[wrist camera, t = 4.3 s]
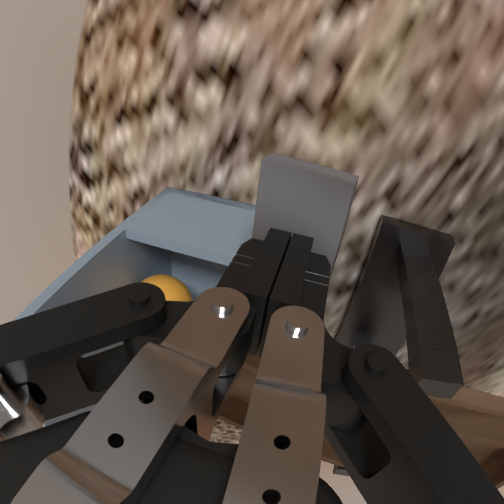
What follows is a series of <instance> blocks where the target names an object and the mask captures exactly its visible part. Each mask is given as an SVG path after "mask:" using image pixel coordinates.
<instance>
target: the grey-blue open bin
mask: <svg viewBox="0 0 504 504" xmlns="http://www.w3.org/2000/svg"><path fill="white" fill-rule="evenodd" d="M255 209H256V205H252V204H247V203H243V202H238V201H234V200H229V199H224V198H220V197H215V196H210V195H205V194H200V193H195V192H190V191H185V190H180V189H175V188H170V187H167V188H166V189H165V190H163V191H162V192H161V193H159V194H158V195H157V196H155V197H154V198H153V199H151V200H150V201H149V202H147V203H146V204H145V205H143V206H142V207H141V208H140V209H138V210H137V211H136V212H135V213H133V214H132V215H131V216H129V217H128V218H127V219H126V220H124V221H123V222H122V223H121V224H119V225H118V226H117V227H116V228H115V229H113V230H112V231H111V232H110V233H109V234H107V235H106V236H105V237H104V238H103V239H101V240H100V241H99V242H98V243H97V244H95V245H94V246H93V247H92V248H91V249H90V250H88V251H87V252H86V253H85V254H84V255H83V256H81V257H80V258H79V259H78V260H77V261H76V262H75V263H74V264H72V265H71V266H70V267H69V268H68V269H67V270H66V271H65V272H64V273H62V274H61V275H60V276H59V277H58V278H57V279H56V280H55V281H54V282H53V283H52V284H51V285H50V286H49V287H47V288H46V289H45V290H44V291H43V292H42V293H41V294H40V295H39V296H38V297H37V298H36V299H35V300H34V301H33V302H32V303H31V304H30V305H29V306H28V307H27V308H26V309H25V310H24V311H23V312H22V313H21V314H20V315H19V316H18V317H17V318H16V319H15V320H18V319H21V318H24V317H27V316H30V315H33V314H36V313H40V312H43V311H46V310H49V309H52V308H55V307H58V306H62V305H65V304H68V303H71V302H74V301H77V300H81V299H84V298H87V297H90V296H93V295H97V294H100V293H103V292H106V291H109V290H112V289H116V288H119V287H122V286H125V285H128V284H132V283H137V282H141V281H143V280H144V279H146V278H148V277H150V276H153V275H158V274H164V275H170V276H173V277H175V278H177V279H179V280H180V281H181V282H183V283H184V284H185V285H186V286H187V288H188V289H189V291H190V293H191V295H192V298H193V301H195V300H196V298H197V297H198V296H199V295H200V294H201V293H202V292H203V291H205V290H207V289H210V288H214V287H216V286H217V284H218V283H219V281H220V279H221V278H222V276H223V274H224V273H225V271H226V269H227V268H228V266H229V264H230V263H231V262H232V259H233V258H234V256H235V255H236V253H237V251H238V249H239V248H240V246H241V244H243V243H244V242H246V241H248V240H249V239H251V238H252V233H253V225H254V217H255ZM122 344H123V341H122V342H119V343H116V344H113V345H110V346H107V347H105V348H102V349H99V350H96V351H93V352H90V353H87V354H84V355H82V356H81V357H88V356H91V355H94V354H97V353H100V352H103V351H105V350H108V349H111V348H114V347H117V346H120V345H122ZM97 404H98V403H97ZM97 404H94V405H91V406H88V407H86V408H83V409H80V410H77V411H74V412H71V413H68V414H65V415H62V416H59V417H56V418H53V419H50V420H46V421H44V423H43V427H45V426H48V425H51V424H54V423H56V422H59V421H62V420H65V419H67V418H70V417H73V416H75V415H78V414H81V413H83V412H87V411H91V410H93V409H94V407H95V406H96V405H97Z"/></svg>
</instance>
